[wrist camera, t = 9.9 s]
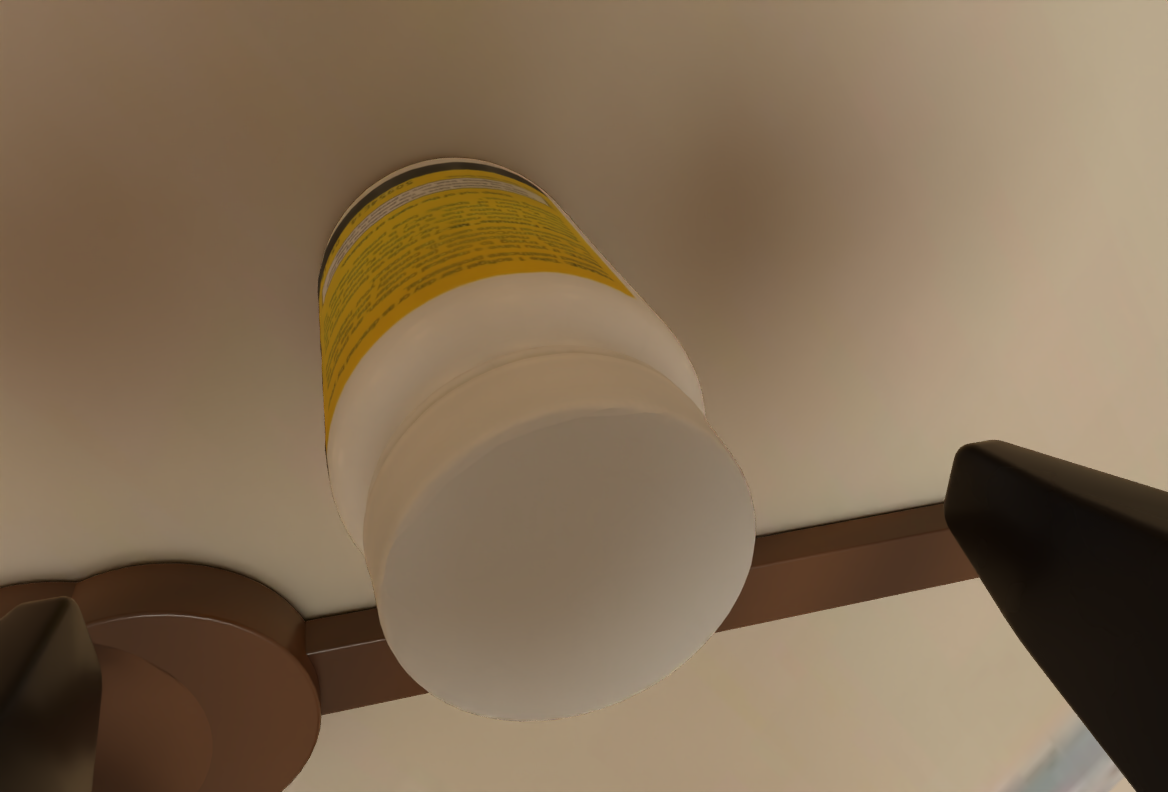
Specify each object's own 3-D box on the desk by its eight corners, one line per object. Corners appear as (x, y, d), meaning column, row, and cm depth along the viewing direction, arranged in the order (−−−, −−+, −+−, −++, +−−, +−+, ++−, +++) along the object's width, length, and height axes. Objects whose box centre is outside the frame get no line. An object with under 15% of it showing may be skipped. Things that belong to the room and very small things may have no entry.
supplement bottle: (257, 291, 15) (214, 620, 8) (453, 91, 14) (599, 254, 7) (456, 446, 17) (561, 806, 10) (630, 282, 17) (871, 543, 10)
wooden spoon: (1005, 422, 21) (1049, 453, 20) (956, 612, 24) (993, 650, 23) (-174, 613, 16) (-217, 675, 14) (-56, 833, 18) (-83, 901, 17)
